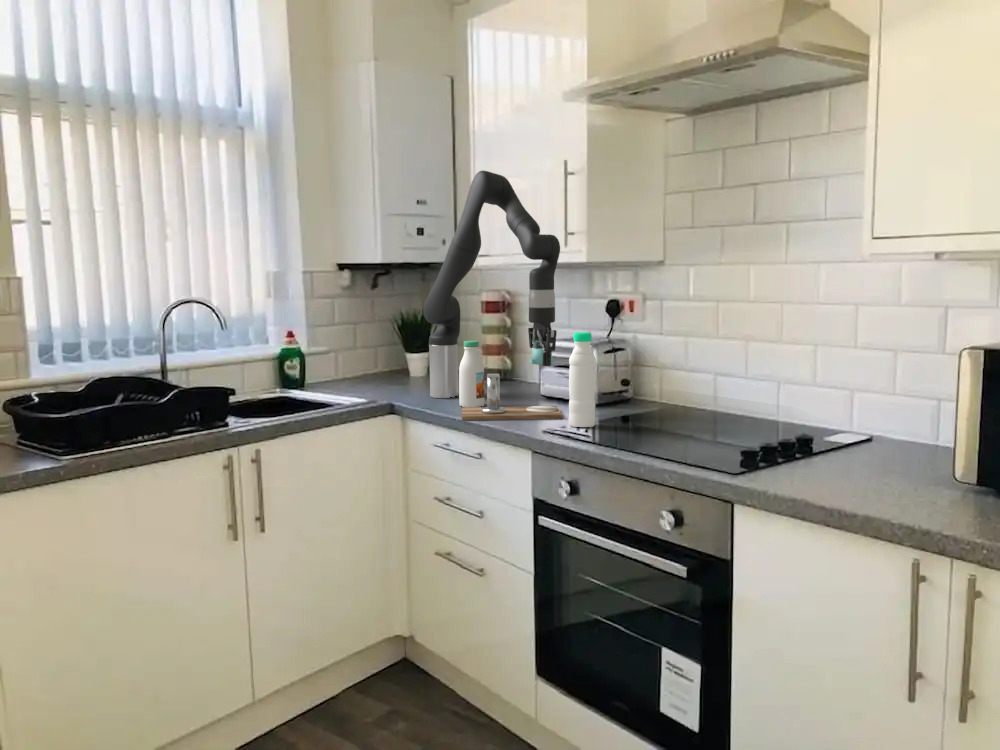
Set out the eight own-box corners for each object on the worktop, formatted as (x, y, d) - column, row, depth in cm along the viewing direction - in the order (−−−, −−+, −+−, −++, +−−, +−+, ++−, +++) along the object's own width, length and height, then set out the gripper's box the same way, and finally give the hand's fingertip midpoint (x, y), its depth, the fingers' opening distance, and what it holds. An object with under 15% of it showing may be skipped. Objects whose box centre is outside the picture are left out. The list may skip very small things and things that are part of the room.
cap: (549, 361, 231) (549, 343, 231) (557, 363, 226) (557, 344, 226) (526, 363, 229) (526, 344, 228) (535, 365, 223) (534, 346, 223)
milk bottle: (468, 409, 238) (467, 342, 235) (454, 405, 244) (453, 340, 241) (489, 406, 242) (489, 341, 240) (475, 403, 249) (474, 339, 246)
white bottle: (594, 429, 208) (594, 333, 204) (567, 428, 209) (567, 333, 206) (596, 423, 215) (597, 331, 211) (570, 423, 216) (570, 331, 213)
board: (462, 411, 234) (462, 406, 234) (556, 410, 236) (556, 404, 235) (462, 420, 220) (461, 414, 220) (562, 419, 222) (562, 413, 221)
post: (481, 409, 230) (480, 372, 228) (505, 409, 230) (504, 372, 229) (481, 414, 223) (481, 376, 222) (506, 414, 223) (506, 376, 222)
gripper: (565, 306, 220) (565, 366, 222) (542, 304, 233) (543, 361, 235) (540, 307, 217) (541, 368, 219) (519, 305, 230) (520, 363, 233)
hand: (542, 364), depth 227 cm, fingers closed on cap, 5 cm apart
